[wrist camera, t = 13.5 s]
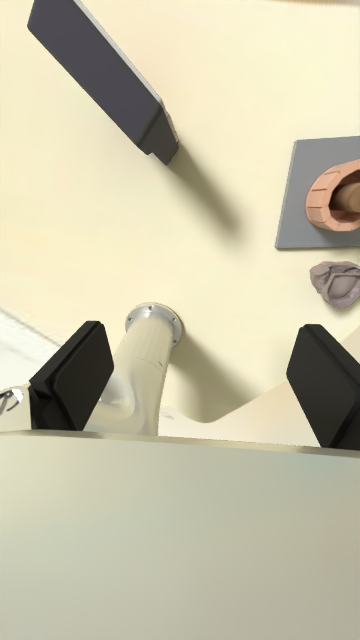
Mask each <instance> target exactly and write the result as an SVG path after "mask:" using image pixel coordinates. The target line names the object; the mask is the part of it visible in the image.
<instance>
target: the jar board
mask: <svg viewBox="0 0 360 640" xmlns="http://www.w3.org/2000/svg"><path fill="white" fill-rule="evenodd" d="M352 183H360V136H352V137H337V138H322V139H306V140H297V141H295V142H294V147H293V152H292V157H291V163H290V168H289V173H288V179H287V184H286V189H285V195H284V200H283V205H282V210H281V216H280V221H279V226H278V232H277V237H276V242H275V247H276V248H299V247H353V246H360V212H350V211H335V210H329V207H328V204H329V201H330V197H331V194H332V191H333V190H334V188H335V187H336V186H337V185H344V184H352Z"/></svg>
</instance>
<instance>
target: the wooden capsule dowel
mask: <svg viewBox="0 0 360 640" xmlns="http://www.w3.org/2000/svg"><path fill="white" fill-rule="evenodd" d="M328 207H329V210H335V211H350V212H360V183H352V184H344V185H337V186H336V187H335V188H334V190H333V191H332V194H331V197H330V201H329V204H328Z"/></svg>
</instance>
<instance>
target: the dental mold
mask: <svg viewBox="0 0 360 640" xmlns="http://www.w3.org/2000/svg"><path fill="white" fill-rule="evenodd" d="M310 279H311V282H312V285H313V286H314V287H315V289H316V290H317V292H318V293H322V296H323V298H324V299H325V300H326V301H327V302H329V303H330V304H332V305H333V306H334V307H337V308H344V307H347V306H350V305H351V304H353V303H354V302H355V301H356V300H357V298H359V297H360V266H358V265H356V264H354V263H351V262H347V261H345V262H328V261H326V262H322V263H321V264H319V265H317V266H314V267H312V268H311V269H310Z"/></svg>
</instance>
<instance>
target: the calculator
mask: <svg viewBox="0 0 360 640" xmlns="http://www.w3.org/2000/svg"><path fill="white" fill-rule="evenodd" d="M27 27H28V29H29V31H30V32H31V33H32V34H33V35H34V36H35V37H36V38H37V39H38V40H39V42H40V43H41V44H42V45H43V46H44V47H45V48H46V49H47V50H48V51H49V52H50V53H51V54H52V56H53V57H54V58H55V59H56V60H57V61H58V62H59V63H60V64H61V65H62V66H63V67H64V68H65V70H66V71H67V72H68V73H69V74H70V75H71V76H72V77H73V78H74V79H75V80H76V81H77V82H78V84H79V85H80V86H81V87H82V88H83V89H84V90H85V91H86V92H87V93H88V94H89V95H90V96H91V98H92V99H93V100H94V101H95V102H96V103H97V104H98V105H99V106H100V107H101V108H102V109H103V110H104V111H105V113H106V114H107V115H108V116H109V117H110V118H111V119H112V120H113V121H114V122H115V123H116V124H117V125H118V127H119V128H120V129H121V130H122V131H123V132H124V133H125V134H126V135H127V136H128V137H129V138H130V139H131V141H132V142H133V143H134V144H135V145H136V146H137V147H138V148H139V149H140V150H142V151H143V152H144V153H145V154H146V155H149V154H150V153H152V152H153V153H154V154H155V155H156V156H157V157H158V158H159V159H160V160H161V161H162V162H163V163H164V164H165V165H167V164H168V163H169V161H170V160H171V158H172V157H173V156H174V154H175V153H176V151H177V150H178V148H179V147H178V144H177V142H178V140H179V139H178V137H177V134H176V131H175V130H174V129H175V128H174V125H173V123H172V120H171V117H170V115H169V113H168V112H167V111H166V109H165V106H164V104H163V101H162V99H161V98H160V97H159V95H158V94H157V93H156V92H155V91H154V89H153V88H152V87H151V86H150V84H149V83H148V82H147V81H146V80H145V78H144V77H143V76H142V75H141V74H140V72H139V71H138V70H137V69H136V68H135V66H134V65H133V64H132V63H131V61H130V60H129V59H128V58H127V57H126V55H125V54H124V53H123V52H122V51H121V49H120V48H119V47H118V46H117V45H116V43H115V42H114V41H113V40H112V38H111V37H110V36H109V35H108V34H107V32H106V31H105V30H104V29H103V28H102V26H101V25H100V24H99V23H98V22H97V20H96V19H95V18H94V17H93V15H92V14H91V13H90V12H89V11H88V9H87V8H86V7H85V6H84V5H83V3H82V2H81V1H80V0H34V3H33V7H32V10H31V14H30V17H29V21H28V24H27Z"/></svg>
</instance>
